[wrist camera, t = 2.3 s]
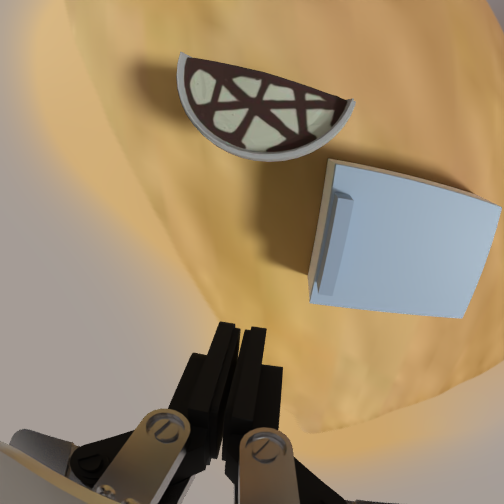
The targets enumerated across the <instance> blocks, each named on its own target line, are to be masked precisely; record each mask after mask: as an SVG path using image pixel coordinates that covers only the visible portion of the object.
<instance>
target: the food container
mask: <svg viewBox="0 0 504 504" xmlns="http://www.w3.org/2000/svg"><path fill="white" fill-rule="evenodd" d="M177 88H178V93H179V97H180V101H181V104H182V106H183V108H184V110H185V113H186V115H187V116H188V118H189V119H190V121H191V122H192V124H193V125H194V126H195V127H196V128H197V129H198V130H199V131H200V133H201V134H202V135H203V136H205V137H206V138H207V139H208V140H210V141H211V142H212V143H213V144H215V145H216V146H217V147H219V148H221V149H223V150H224V151H226V152H228V153H231V154H233V155H236V156H238V157H241V158H245V159H250V160H254V161H266V162H273V161H285V160H290V159H294V158H298V157H301V156H304V155H306V154H309V153H311V152H313V151H315V150H317V149H318V148H320V147H322V146H324V145H325V144H326V143H327V142H329V141H330V140H331V139H332V138H334V137H335V136H336V135H337V133H338V132H339V131H340V130H341V129H342V128H343V127H344V125H345V124H346V122H347V121H348V119H349V118H350V116H351V114H352V111H353V109H354V107H355V103H356V102H355V101H353V100H354V99H348V100H344V99H342V98H339V97H338V96H334V95H331V94H328V93H325V92H322V91H319V90H317V89H314V88H311V87H308V86H305V85H302V84H299V83H296V82H293V81H290V80H287V79H284V78H281V77H278V76H275V75H271V74H268V73H265V72H261V71H256V70H252V69H247V68H243V67H239V66H234V65H230V64H225V63H220V62H215V61H209V60H204V59H198V58H192V57H190V56H188V55H186V54H185V53H183V52H180V56H179V60H178V66H177Z"/></svg>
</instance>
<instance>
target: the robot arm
mask: <svg viewBox="0 0 504 504" xmlns="http://www.w3.org/2000/svg"><path fill="white" fill-rule="evenodd" d="M266 330H267V329H266V328H259V327H251V330H245V332H244V336H243V340H242V344H241V348H240V352H239V341H240V329H239V328H235V324H233V323H227V322H221V321H220V322H219V325H218V327H217V330H216V333H215V335H214V338H213V341H212V343H211V346H210V349H209V351H208V354H207V355H203V354H198V353H192V355H191V357H190V359H189V361H188V363H187V366H186V368H185V370H184V373H183V375H182V377H181V379H180V382H179V384H178V386H177V389H176V391H175V393H174V396H173V398H172V400H171V403H170V405H169V408H168V409H158V410H154V411H152V412H150V413H148V414H147V415H146V416H145V417H144V418H143V420H142V421H141V422H140V424H139V425H138V426H137V428H136V429H135V430H133V431H130V432H127V433H124V434H120V435H117V436H114V437H111V438H107V439H104V440H101V441H97V442H93V443H90V444H86V445H83V446H81V447H80V446H76V445H74V443H73V442H69V441H65V440H61V439H57V438H54V437H50V436H48V435H44V434H41V433H38V432H35V431H32V430H28V429H22V430H19V431H17V432H16V433H15V434H14V435H13V437H12V439H11V441H10V444H9V445H8V444H6V443H4V442H1V441H0V504H181V503H182V501H183V499H184V497H185V496H186V493H187V492H188V490H189V487H190V486H191V484H192V482H193V480H194V478H195V475H196V474H197V473H199V472H202V471H203V470H205V469H206V465H210V461H211V458H213V459H217V458H218V454H219V450H220V446H221V442H222V438H223V445H222V446H223V447H222V460H224V461H226V464H225V474H226V476H227V477H228V478H229V479H230V480H231V481H232V483H233V484H234V504H396V503H383V502H382V503H381V502H372V501H363V500H356V501H348V500H344V499H343V498H342V497H341V496H339V494H337V493H336V492H335V491H333V490H332V489H331V488H330V487H328V486H327V485H326V484H325V483H324V482H322V481H321V480H320V479H319V478H318V477H316V476H315V475H314V474H313V473H312V472H311V471H309V470H308V469H307V468H306V467H305V466H304V465H303V464H301V463H300V462H299V461H298V460H297V459H296V458H295V457H294V456H293V448H292V445H291V442H290V440H289V439H288V437H287V436H286V435H285V434H283V433H282V432H280V431H278V428H279V416H280V403H281V389H282V375H283V367H278V366H270V365H263V364H262V358H263V351H264V344H265V337H266ZM238 352H239V356H238Z"/></svg>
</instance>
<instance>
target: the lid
mask: <svg viewBox="0 0 504 504" xmlns="http://www.w3.org/2000/svg"><path fill="white" fill-rule="evenodd" d="M501 209H502V207H500V206H498V205H495V204H492V203H489V202H486V201H483V200H480V199H477V198H474V197H471V196H468V195H465V194H461V193H458V192H455V191H451V190H448V189H445V188H441V187H437V186H434V185H430V184H426V183H423V182H419V181H415V180H411V179H407V178H403V177H398V176H394V175H390V174H385V173H381V172H376V171H371V170H367V169H362V168H357V167H351V166H346V165H341V164H335V168H334V175H333V181H332V188H331V194H330V200H329V205H328V211H327V217H326V222H325V228H324V233H323V238H322V243H321V248H320V253H319V258H318V263H317V268H316V272H315V277H314V282H313V286H312V291H311V295H310V303H313V304H320V305H328V306H337V307H345V308H354V309H362V310H372V311H381V312H391V313H401V314H412V315H424V316H436V317H449V318H463V315H464V313H465V311H466V309H467V307H468V305H469V302H470V300H471V298H472V295H473V293H474V291H475V288H476V286H477V283H478V281H479V278H480V276H481V273H482V270H483V268H484V265H485V262H486V259H487V256H488V253H489V250H490V247H491V244H492V241H493V238H494V235H495V231H496V228H497V224H498V220H499V217H500V213H501Z"/></svg>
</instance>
